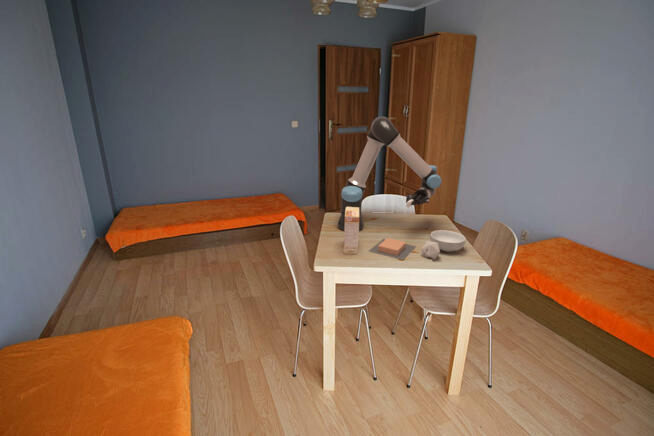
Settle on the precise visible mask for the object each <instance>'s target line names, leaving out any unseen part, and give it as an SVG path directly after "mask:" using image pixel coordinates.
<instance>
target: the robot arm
mask: <svg viewBox="0 0 654 436" xmlns="http://www.w3.org/2000/svg"><path fill="white" fill-rule="evenodd" d="M370 125H371V126H370V129H369V131H368V133H367V136H366V139H367V142H366V145H364V148H363V150H362V153H361V156H360V158H359V161H358V163H357V165H356V167H355V170H354V173H353V174H352V176H351V177H350V178H348V180H347V182H346V184H345V186H344V187H343V188H342V190H341V195H340V196H341V203H340V204H341V205H340V216H339V219H338V221H337V229H339V230H340V231H343V232H344V228H345V210H346V207H359V232H361V231H362V230H364V225H365V224H364V221H363V216H362V201H363V195H364V193H365V190H366V188H367V185H366V182H367V179H368V178H369V175H370V173H371V171H372V168H373V167H374V165H375V162H376V159H377V158H378V155H379V153H380V151H381V148H382V147H383V146H386V147H387V148H388V147H389V148H390V149H392V151H393V152H394V153H395V154H396V155H398V156H399V158H401V159H402V161H403V162H405V164H407V165H408V166H409V168H410V169H412V171H413V172H415V174H416V175H417V176H419V178H420V179H421V182H420V183H421V184H420V188H418V189H417V190H416V191H415V192H414V193H412V194H409V193H407V194H406V198H405V203H406V208H410V207H412V206H415V205H417V206H421V205H423V204H426V203H429V202H430V198H432V197H433V196H434V195H435V193H436V189H437V188H439V187H441V185H442V177H441V175H439V174H438V173H437V172H438V170H437V169H438V166H436V165H433V164H432V165H431V164H428V163H427V162H426V161H425V160H424V159H423V158H422V157H421V156H420V154H418V152H416V151H415V150H414V149H413V148H412V147H411V146H410V145H409V143H407V142H406V141H405V140H404V139H403V137H401V133H400V132H399V130H398V129H397V128H396V127H395V125H394V124H393V122H392V121H391V119H390V118H389V117H386V116H378V117H376V118H375V119H373V120H372V121H371V124H370Z"/></svg>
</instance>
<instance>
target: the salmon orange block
mask: <svg viewBox="0 0 654 436" xmlns="http://www.w3.org/2000/svg"><path fill="white" fill-rule="evenodd" d="M406 244H407V241H402V240H398V239H394V238H389V237H387V238H386V240H384V241H383V242H382V243H381V244H380V245H378V251H379V252H383V253H387V254H391V255H395V256H397V255H398V254H399V253H400V252H401V251H402V250H403V249H404V248H405V247H406Z"/></svg>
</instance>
